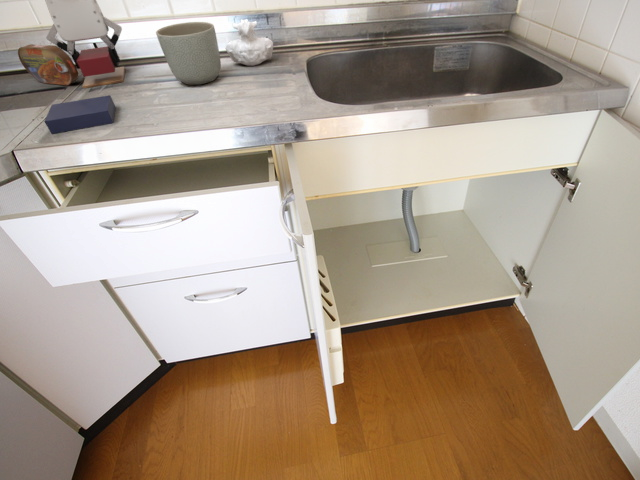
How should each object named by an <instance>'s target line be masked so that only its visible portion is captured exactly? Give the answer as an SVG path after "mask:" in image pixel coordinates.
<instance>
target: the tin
mask: <svg viewBox="0 0 640 480" xmlns="http://www.w3.org/2000/svg"><path fill="white" fill-rule="evenodd" d="M17 56H18V60H19V61H20V63H21V65H22V66H23V68H24V69H25V71H26V72H28V74H29V75H30V76H31V77H33V78H34V79H35V80H36V81H37V82H39V83H42V84H48V85H58V86H69V85H71V84H73V83H74V82H76V81H77V80H79V79H78V78H79V70H78V68H77V66H76V64H75V62H74V60H73V59H72V57H70V54H68V52H66V51H64V50H63V49H61V48H59V47H58V46H57V45H52V44H27V45H24V46H20V47H19V48H18V49H17Z"/></svg>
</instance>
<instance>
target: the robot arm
mask: <svg viewBox="0 0 640 480" xmlns="http://www.w3.org/2000/svg"><path fill="white" fill-rule="evenodd" d="M44 2H45V5H46V7H47V10H48V13H49V16H50V18H51V20H52V23H53V24H52V26H51V28H50V29H49V31H48V33H47V34H46V37H45V38H46V40H47V41H49V42H50V43H52V44H53V45H54V46H56V47H59V48H60V49H62V50H63V51H64V52H66V53H67V54H68V55H69V56H71V59H72V61H73V63H74V65H75V67H76V69H80V67H79V65H78V63H77V59H78V56H79V54H80V51H78V50H77V49H76V42H81V41H88V40H95V39H100V40H101V41H102V42H103V43H104V44H105V45H106V47H107V46H108V52H109V54H110V56H111V58H112V61H113V63H114V65H115V67H116V68H118V67H120V62H121V59H120V56H119V53H118V52H117V49H116V45H117V43H118V41H119V38H120V36H121V33H122V30H123V27H122V26H121V25H120V24H118V23H116V22H115V21H112V20H111V19H110V18H107V17H106V16H104V13H103V11H102V9H101V7H100V5H99V4H98V1H97V0H44ZM110 28H111V29H112V30H113V34H112V36H111V37H110V36H109V35H108V34H109V31H110ZM57 34H58V35H59V37H60V39H61V40H60V39H59V38H57ZM62 40H63V41H62Z"/></svg>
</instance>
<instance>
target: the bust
mask: <svg viewBox="0 0 640 480" xmlns="http://www.w3.org/2000/svg"><path fill="white" fill-rule="evenodd" d="M257 26H258V21H257V20H254V21H249V20H248V18H246V19H242V18H241V19H240V22H237V23H236V22H233V23H232V27H233V29H234V30H235V29H236V30H237V32H238V34H237V36H238V37H240V36H241V37H240V38H239V39H233V40H230V41H229V42H227V44H225V50H226V53H227V54H228V56H229V58H230V59H231V60H232V62H234V63H236V64H241V65H245V66H247V67H249V66H251V67H254V66H258V65H260V64H262V63H263V62H265V61H268V60H271V58H272V56H273V51H274V42H273V41H272V40H271V39H270V38H268V37H265V36H260V37H259V36H258V37H256V36H255V35H256V31H255V28H256V27H257Z"/></svg>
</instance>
